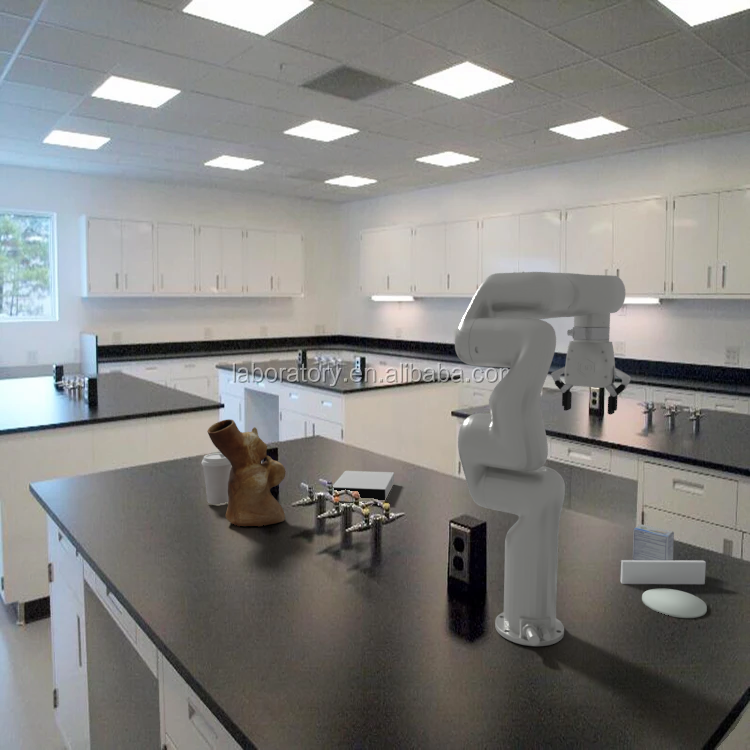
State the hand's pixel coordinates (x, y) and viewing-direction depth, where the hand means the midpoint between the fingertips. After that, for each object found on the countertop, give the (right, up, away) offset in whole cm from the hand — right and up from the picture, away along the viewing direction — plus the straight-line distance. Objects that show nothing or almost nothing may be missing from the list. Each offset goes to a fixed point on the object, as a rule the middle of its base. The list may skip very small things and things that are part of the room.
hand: (588, 411), depth 143 cm
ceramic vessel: (-84, -34, +38) cm, 98 cm away
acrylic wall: (+15, -38, -2) cm, 41 cm away
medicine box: (+17, -37, +8) cm, 42 cm away
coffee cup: (-97, -32, +56) cm, 116 cm away
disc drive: (-52, -31, +67) cm, 90 cm away
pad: (+13, -39, -12) cm, 43 cm away
